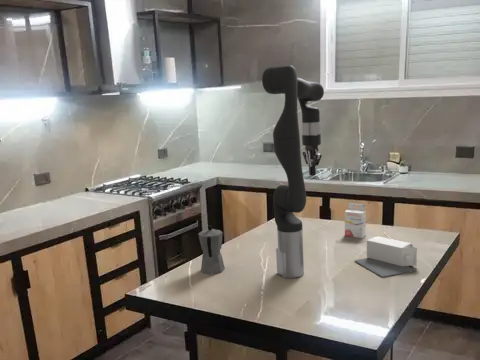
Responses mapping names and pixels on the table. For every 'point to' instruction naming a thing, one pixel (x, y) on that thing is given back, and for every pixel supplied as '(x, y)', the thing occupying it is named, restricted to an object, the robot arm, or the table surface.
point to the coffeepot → (211, 251)
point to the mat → (383, 267)
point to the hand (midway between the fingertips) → (312, 175)
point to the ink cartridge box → (355, 220)
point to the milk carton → (392, 251)
